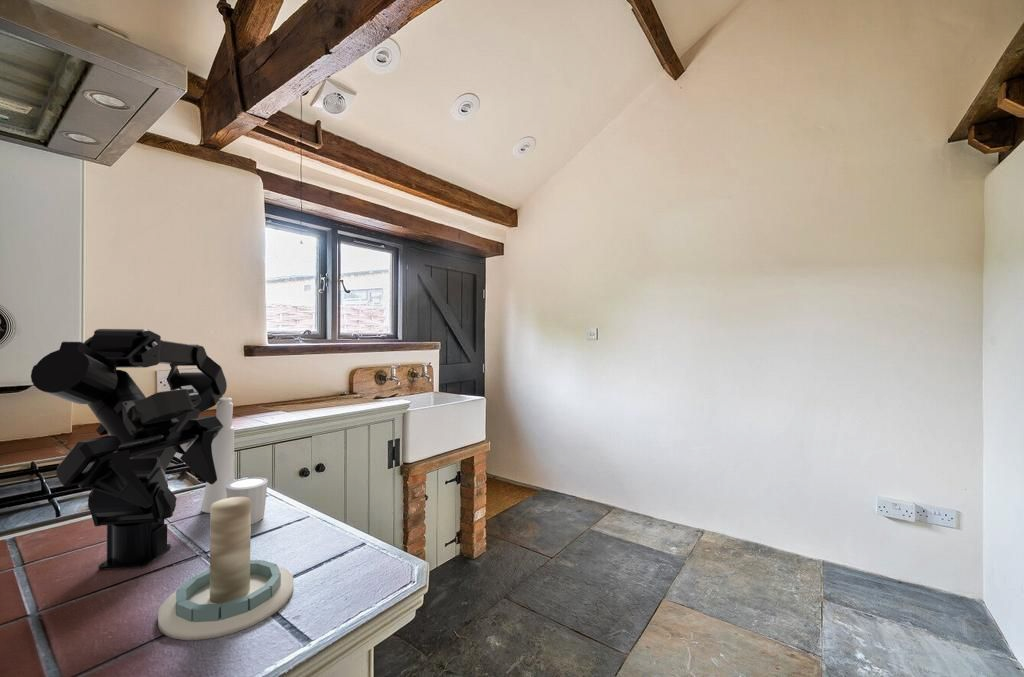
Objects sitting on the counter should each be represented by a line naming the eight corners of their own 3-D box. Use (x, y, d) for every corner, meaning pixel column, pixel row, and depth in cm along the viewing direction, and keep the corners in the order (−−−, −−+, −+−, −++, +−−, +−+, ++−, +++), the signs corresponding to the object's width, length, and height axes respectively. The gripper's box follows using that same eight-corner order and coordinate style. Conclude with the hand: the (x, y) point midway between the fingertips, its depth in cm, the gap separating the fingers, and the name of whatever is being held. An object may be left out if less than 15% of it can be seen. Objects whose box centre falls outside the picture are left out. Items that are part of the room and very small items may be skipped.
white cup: (248, 528, 81) (248, 490, 80) (216, 525, 82) (216, 487, 82) (275, 513, 87) (276, 478, 87) (245, 510, 89) (245, 475, 89)
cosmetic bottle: (239, 500, 93) (245, 396, 93) (232, 512, 88) (239, 400, 88) (205, 502, 91) (212, 395, 91) (196, 514, 86) (203, 400, 85)
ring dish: (126, 644, 51) (126, 622, 51) (202, 573, 65) (202, 556, 65) (265, 635, 52) (265, 614, 52) (308, 568, 67) (308, 552, 67)
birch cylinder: (202, 604, 56) (202, 510, 56) (221, 584, 61) (222, 497, 61) (239, 602, 57) (240, 509, 57) (256, 583, 61) (256, 496, 61)
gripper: (74, 374, 53) (147, 476, 50) (214, 364, 71) (272, 438, 68) (25, 436, 54) (93, 537, 52) (174, 411, 73) (229, 485, 70)
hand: (184, 493), depth 61 cm, fingers open, 9 cm apart
